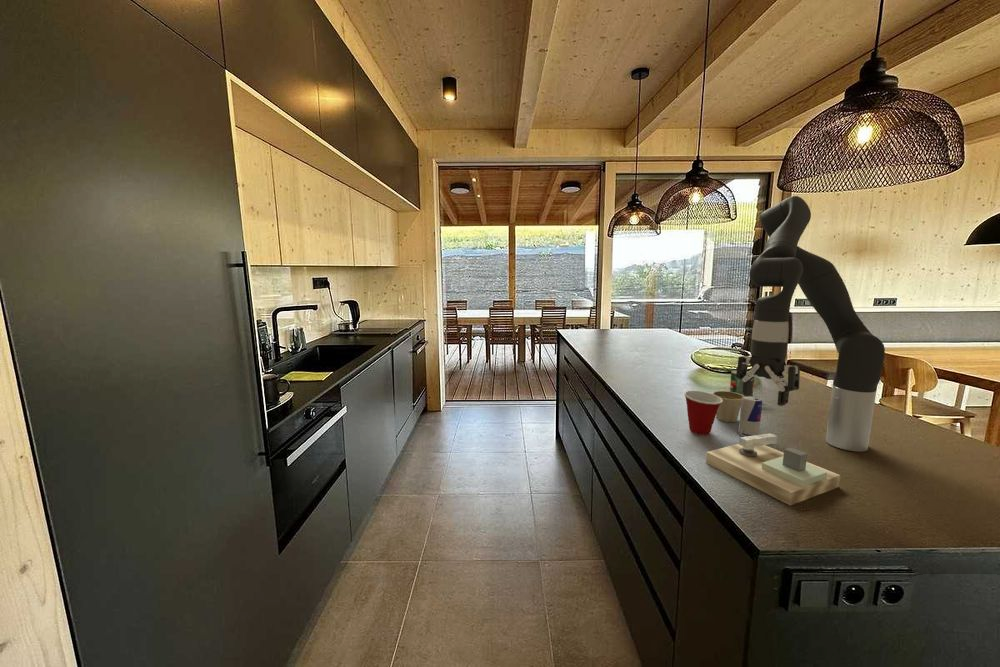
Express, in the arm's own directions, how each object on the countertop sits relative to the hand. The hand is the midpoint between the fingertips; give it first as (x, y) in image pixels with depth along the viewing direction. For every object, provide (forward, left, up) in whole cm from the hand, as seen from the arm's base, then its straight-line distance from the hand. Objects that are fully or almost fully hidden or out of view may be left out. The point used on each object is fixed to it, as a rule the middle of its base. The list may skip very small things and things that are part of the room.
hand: (764, 400), depth 101 cm
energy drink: (-15, -13, -18) cm, 26 cm away
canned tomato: (-45, -37, -18) cm, 60 cm away
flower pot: (-21, -25, -18) cm, 37 cm away
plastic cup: (-4, -21, -18) cm, 27 cm away
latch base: (+3, +5, -17) cm, 18 cm away
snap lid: (+3, +10, -14) cm, 18 cm away
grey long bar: (0, 0, -13) cm, 13 cm away
